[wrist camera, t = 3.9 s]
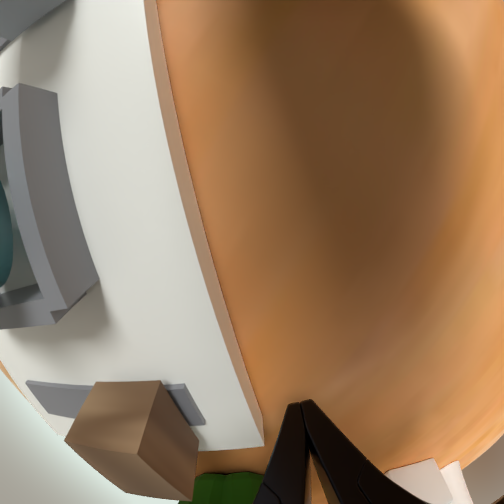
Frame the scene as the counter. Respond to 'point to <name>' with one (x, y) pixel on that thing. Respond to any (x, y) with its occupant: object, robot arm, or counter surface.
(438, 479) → the medicine bottle
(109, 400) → the wooden cube on plate
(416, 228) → the counter surface
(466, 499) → the cosmetic bottle
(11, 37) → the grey slider block
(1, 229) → the push button
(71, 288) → the switch panel
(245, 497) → the bell pepper
